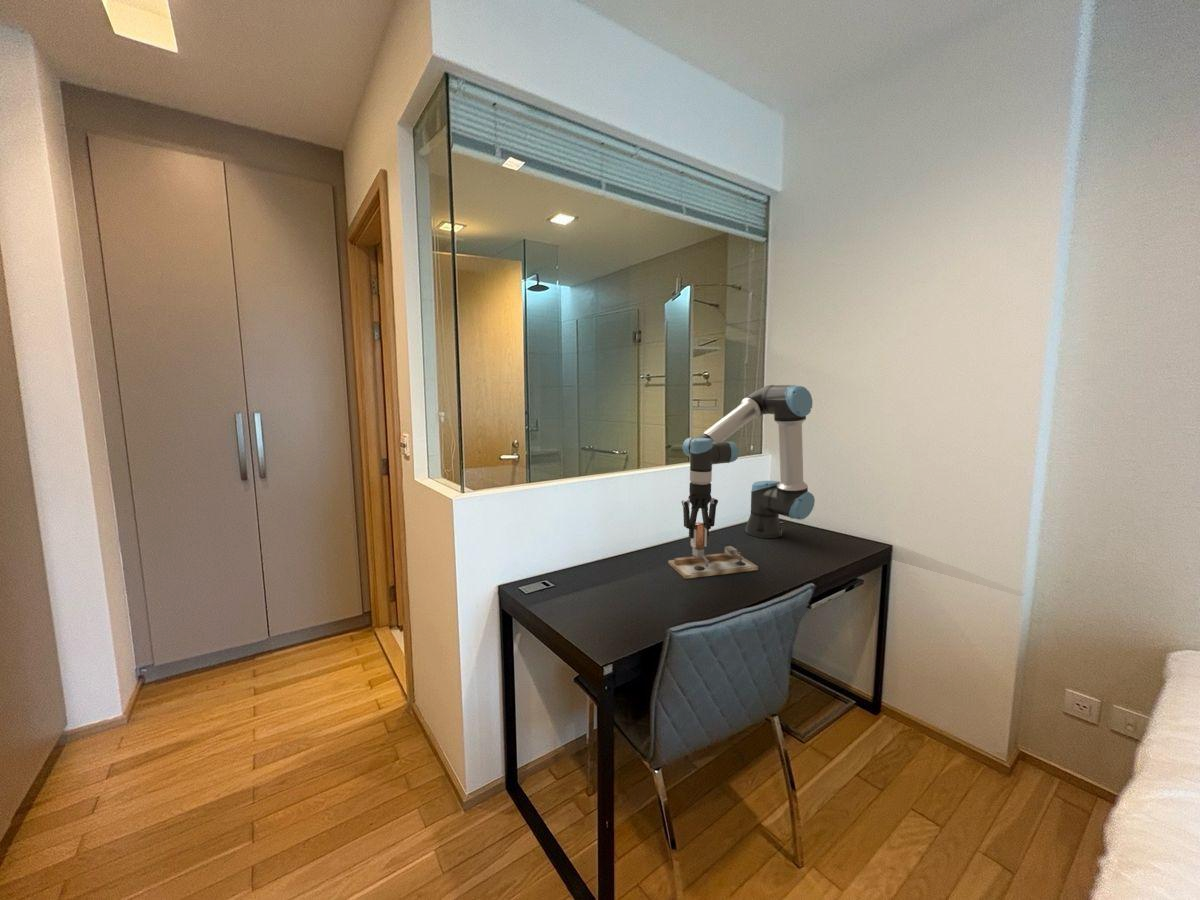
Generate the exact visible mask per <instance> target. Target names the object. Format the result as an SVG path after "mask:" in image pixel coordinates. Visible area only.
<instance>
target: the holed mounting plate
mask: <svg viewBox="0 0 1200 900" xmlns="http://www.w3.org/2000/svg"><path fill="white" fill-rule="evenodd" d="M704 557H705V558H706V559H708V560H709V562H708V567H706V561H704V560H703V559H702V558H696V557H695V556H694V555H692V556H684V557H675V558H674V559H669V560H667V562H668V565H669V566H671V567H672V568H673V569H674V570H675V571H676V572H677V573H678V574H679V575H680V576H681V577H683V579H685V580H687V579H695V578H696V579H697V578H702V577H710V576H711V577H712V576H720V575H728V574H738V573H745V572H752V571H759V566H758V565H756V564H755V563H753V562H752V561H750V560H748V559H746V557H744V556H742V552H741V551H738V549H737V548H736V547H734V546H732V545H728V546H724V552H722V553H721V552H720V553H712V554H704Z"/></svg>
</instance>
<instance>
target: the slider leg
mask: <svg viewBox="0 0 1200 900" xmlns="http://www.w3.org/2000/svg"><path fill="white" fill-rule="evenodd" d="M695 530H697V532H696V548H693V547H692V551H691V553H692V556H695V557H696V558H702V559H703V560H704V561H706V567H708V562H709V560H708V559H706V558H705V557H704V555H705V549H704V546H703V543H704V523H703V522H696V524H695Z"/></svg>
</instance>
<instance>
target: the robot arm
mask: <svg viewBox="0 0 1200 900" xmlns="http://www.w3.org/2000/svg"><path fill="white" fill-rule="evenodd" d="M811 409H813V397H812V394H811V392H810V390H808V388H807V387H805V386H802V385H796V384H784V385H783V384H782V385H781V384H779V385H777V384H776V385H775V384H770V385H765V386H763V387H761V388H758V389H757V390H755V391H753V392H751V393H750V394H748V395H747V396H745V397H744V398H743V399H742V400H741V402H740V404H739V405H738V406H736V407H734V409H732V410H731V411H730V412H728V413H727V414H726V415H724V416H723V417H722V418H720V419H719V420H718V421H716V422H715V423H714V424H712V425H711V426H710V427H709V428H707V429H706V430H705V431H703V432H702V433H701V434H699V435H698V436H696V437H687V438H686V439H685V440H684V442H683V444H682V452H683V454H684V455H685V456H687V457H689V458H690V459H689V462H690V463H689V495H688V497H687V499H685V500H681V505H682V509H683V510H682V511H683V527H685V528H686V529H687V530H688V537H689V538H690V546H691V548H692V549H693V548H696V532H697V530H695V524H696V523H697V517H698V513H699V510H700V511H701V516H702V517H701V518H702V523H704V543H703V548H706V547H707V543H708V542H707V538H708V537H709V536H710V533H709V532H710V530H711V528H713V527H714V526H715V524H716V523H715V521H716V511H717V505H718V504H719V503H718V502H719V500H718V499H717V498H714V497H712V494H711V493H712V483H711V482H712V481H713V479H712V477H713V475H712V474H713V473H712V470H713V465H718V464H729V463H733V462H735V461H737V460H738V459H739V455H740V450H739V447H738V445H737V444H736V443H735V442H733V441H726V440H727V439H728V438H730V437H731V436H732V435H734V434H735V433H736V432H738V431H739V430H740V429H741V428H742V427H744V426H745V425H747V424H748V423H749V422H750V421H751V420H756V419H758V418H759V417H761V416H763V415H774V416H773V419H774V422H775V423H776V424H777V425H778V443H779V445H778V446H779V450H778V451H779V470H780V476H779V477H780V480H779V481H778V480H760V481H755V482H753V483H752V485H751V491H750V492H751V495H750V515H749V516H748V517H749V518H748V521H747V523H746V526H745V533H747V534H748V535H749V536H752V537H756V538H762V539H777V538H780V537H782V536H783V528H782V523H781V521H780V515H781V516H782V517H786V518H787V517H788V518H790V519H794V520H799V521H802V520H805V519H806V518H807V517H809V516H810V514H811V513H812V511H813V510H814V507H815V496H814V495H813V493H811V492H810V491H809V488H808V484H807V483H806V482H804V454H803V453H804V452H803V423H804V422H805V421H806V419H807V416H808V415H809V414H810V413H811V411H812V410H811ZM690 504H691V512H690Z"/></svg>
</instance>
